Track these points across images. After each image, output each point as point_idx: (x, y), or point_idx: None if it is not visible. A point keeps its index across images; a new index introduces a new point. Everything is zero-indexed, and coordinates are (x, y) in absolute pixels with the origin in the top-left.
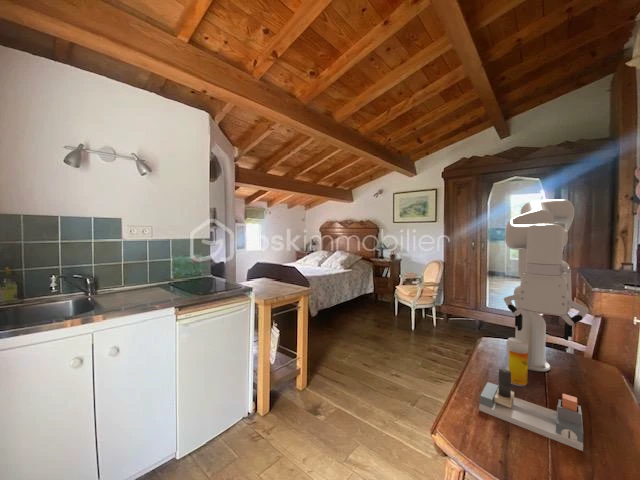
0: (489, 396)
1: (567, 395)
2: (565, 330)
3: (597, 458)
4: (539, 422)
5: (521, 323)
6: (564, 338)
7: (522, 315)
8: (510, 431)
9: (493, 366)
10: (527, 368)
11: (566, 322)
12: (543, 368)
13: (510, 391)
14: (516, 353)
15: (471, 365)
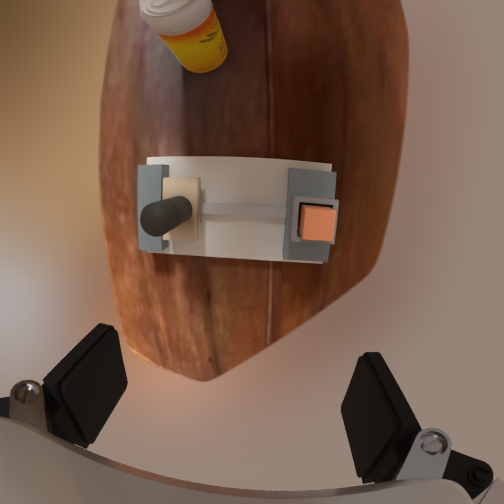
0: (154, 240)
1: (315, 214)
2: (355, 452)
3: (337, 264)
4: (255, 235)
5: (105, 391)
6: (342, 412)
7: (66, 392)
8: (210, 282)
9: None
10: (220, 35)
11: (377, 482)
12: None
13: (188, 214)
14: (177, 36)
15: (109, 54)
